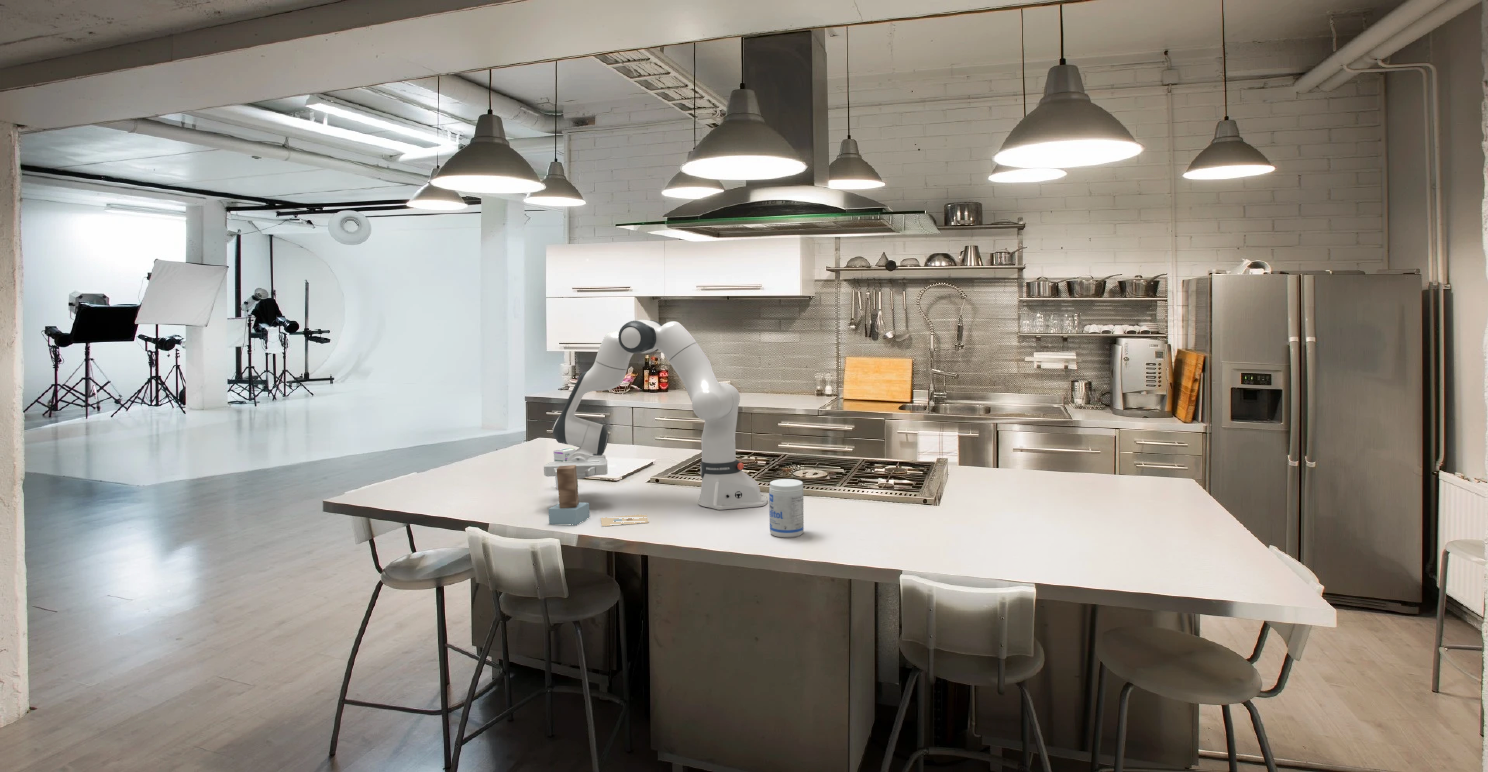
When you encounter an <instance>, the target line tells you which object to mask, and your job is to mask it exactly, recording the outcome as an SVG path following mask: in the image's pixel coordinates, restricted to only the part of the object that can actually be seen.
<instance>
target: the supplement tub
mask: <svg viewBox="0 0 1488 772" xmlns="http://www.w3.org/2000/svg"><path fill="white" fill-rule="evenodd" d="M768 490H769V492H768V493H769V494H768V496H769V497H768V499H769V501H768V503H769V505H768V507H769V517H768V518H769V533H770V534H771V535H772V536H773V537H777V538H785V539H787V538H788V539H789V538H790V539H791V538H796V537H799V536H801V535H802V534H803V533H804V529H805V528H804V527H805V526H804V523H805V522H804V521H805V520H804V482H803V481H802V480H799V479H793V478H781V479H779V478H778V479H774V480H772V481H770V482H769V489H768Z"/></svg>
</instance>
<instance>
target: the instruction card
mask: <svg viewBox="0 0 1488 772" xmlns="http://www.w3.org/2000/svg"><path fill="white" fill-rule="evenodd" d="M604 517H605V516H604ZM607 517H608V516H606V517H605V518H603V517H600V523H601V525H602V526H605V527H613V526H612V525H610V524H630V525H638V524H637V523H640V522H635V523H634V522H624V523H623V522H622V523H621V522H616V521H645V522H641V523H643V524H650V521H649V519H648V515H647V514H646V515H642V514H632V515H631V514H630V515H618V516H617V515H615V517H643V518H639V519H634V518H633V519H632V518H628V519H624V518H622V519H619V518H607ZM644 517H647V518H644ZM613 521H614V522H613ZM648 521H649V522H648ZM601 525H600V526H601ZM602 526H601V527H602Z"/></svg>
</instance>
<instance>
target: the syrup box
mask: <svg viewBox="0 0 1488 772" xmlns="http://www.w3.org/2000/svg"><path fill="white" fill-rule="evenodd" d="M576 450H577V449H576V448H574V447H564V448H559V449H554V450H553V462H563V461H567V459H568V458H569V457H570V456H571V455H572V454H573V453H574V452H575V451H576ZM554 477H555V476H554ZM554 479H555V488H556V490H558V480H557V477H555V478H554ZM578 480H579V479H577V485H578V486H579V483H578V482H579V481H578Z"/></svg>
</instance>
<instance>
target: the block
mask: <svg viewBox="0 0 1488 772" xmlns="http://www.w3.org/2000/svg"><path fill="white" fill-rule="evenodd" d="M557 480H558V489H557V491H558V504H559V506H560V508H572V507H577V505H578V504H579V502H580V500H579V489H578V487H579V484H578V485H577V472H576V465H568V466H559V467H558V468H557Z"/></svg>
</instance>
